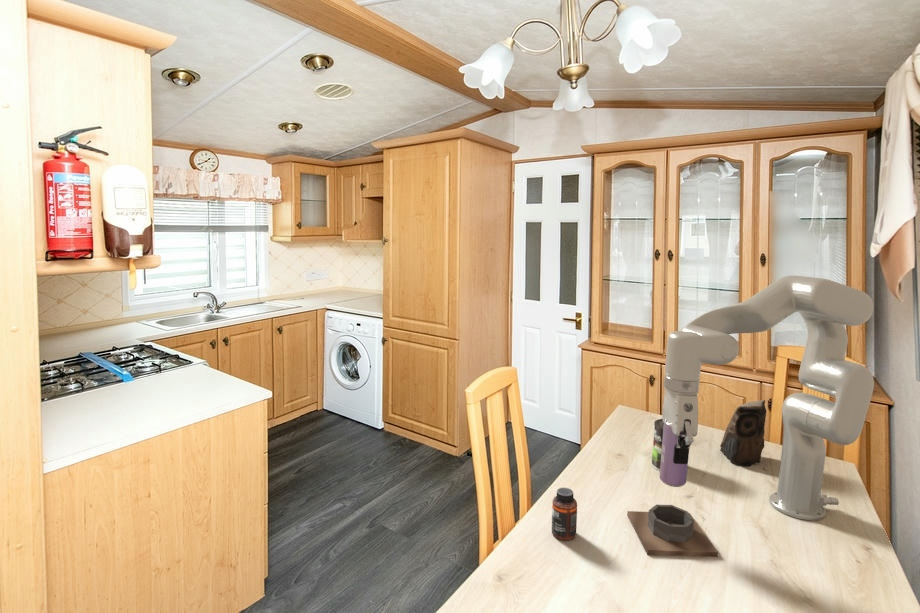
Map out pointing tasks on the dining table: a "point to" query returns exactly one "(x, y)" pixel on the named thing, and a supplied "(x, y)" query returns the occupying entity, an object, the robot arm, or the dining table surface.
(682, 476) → the beverage can
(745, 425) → the owl
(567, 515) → the supplement bottle
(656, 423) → the coffee can
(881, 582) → the dining table surface
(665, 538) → the can holder
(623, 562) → the dining table surface
